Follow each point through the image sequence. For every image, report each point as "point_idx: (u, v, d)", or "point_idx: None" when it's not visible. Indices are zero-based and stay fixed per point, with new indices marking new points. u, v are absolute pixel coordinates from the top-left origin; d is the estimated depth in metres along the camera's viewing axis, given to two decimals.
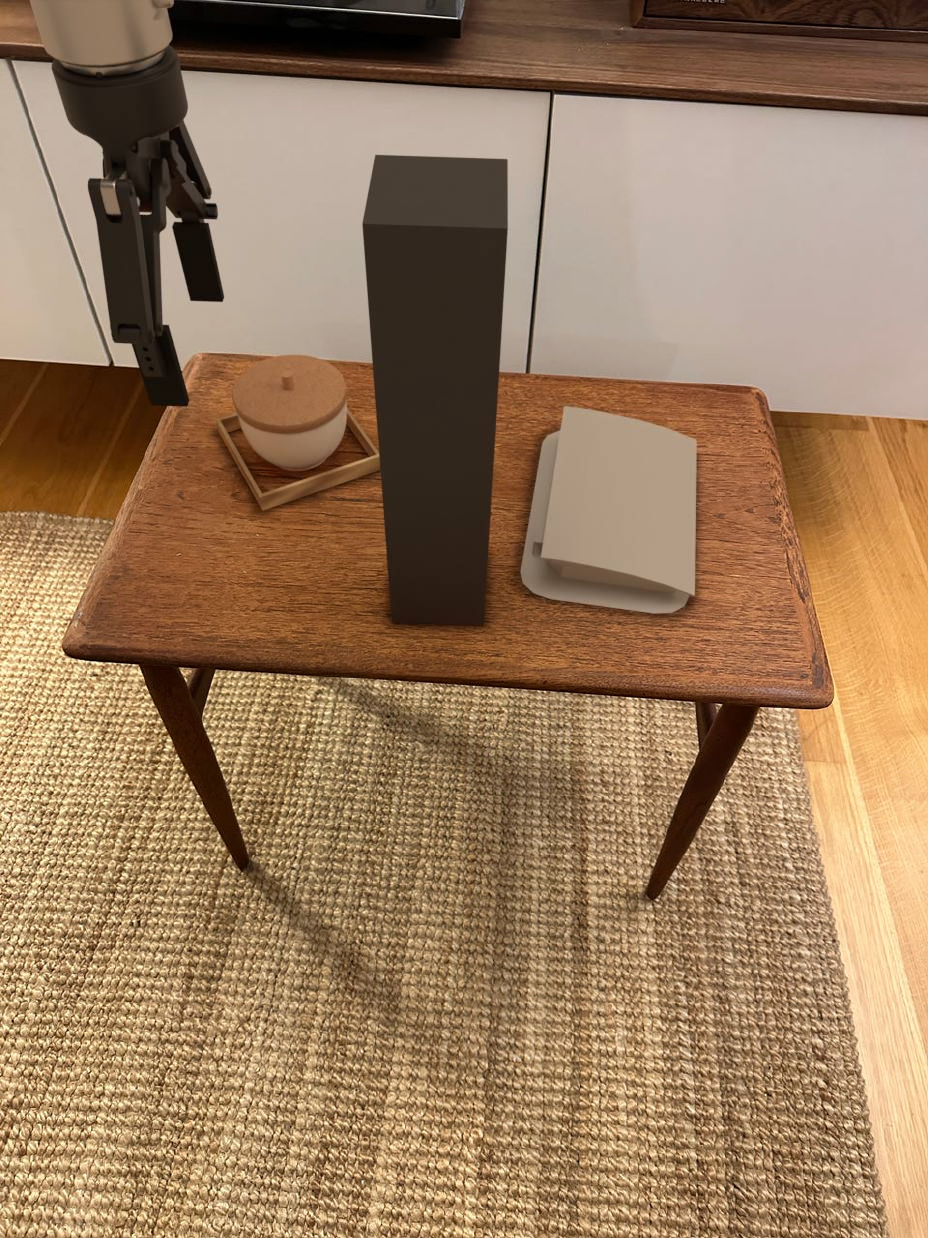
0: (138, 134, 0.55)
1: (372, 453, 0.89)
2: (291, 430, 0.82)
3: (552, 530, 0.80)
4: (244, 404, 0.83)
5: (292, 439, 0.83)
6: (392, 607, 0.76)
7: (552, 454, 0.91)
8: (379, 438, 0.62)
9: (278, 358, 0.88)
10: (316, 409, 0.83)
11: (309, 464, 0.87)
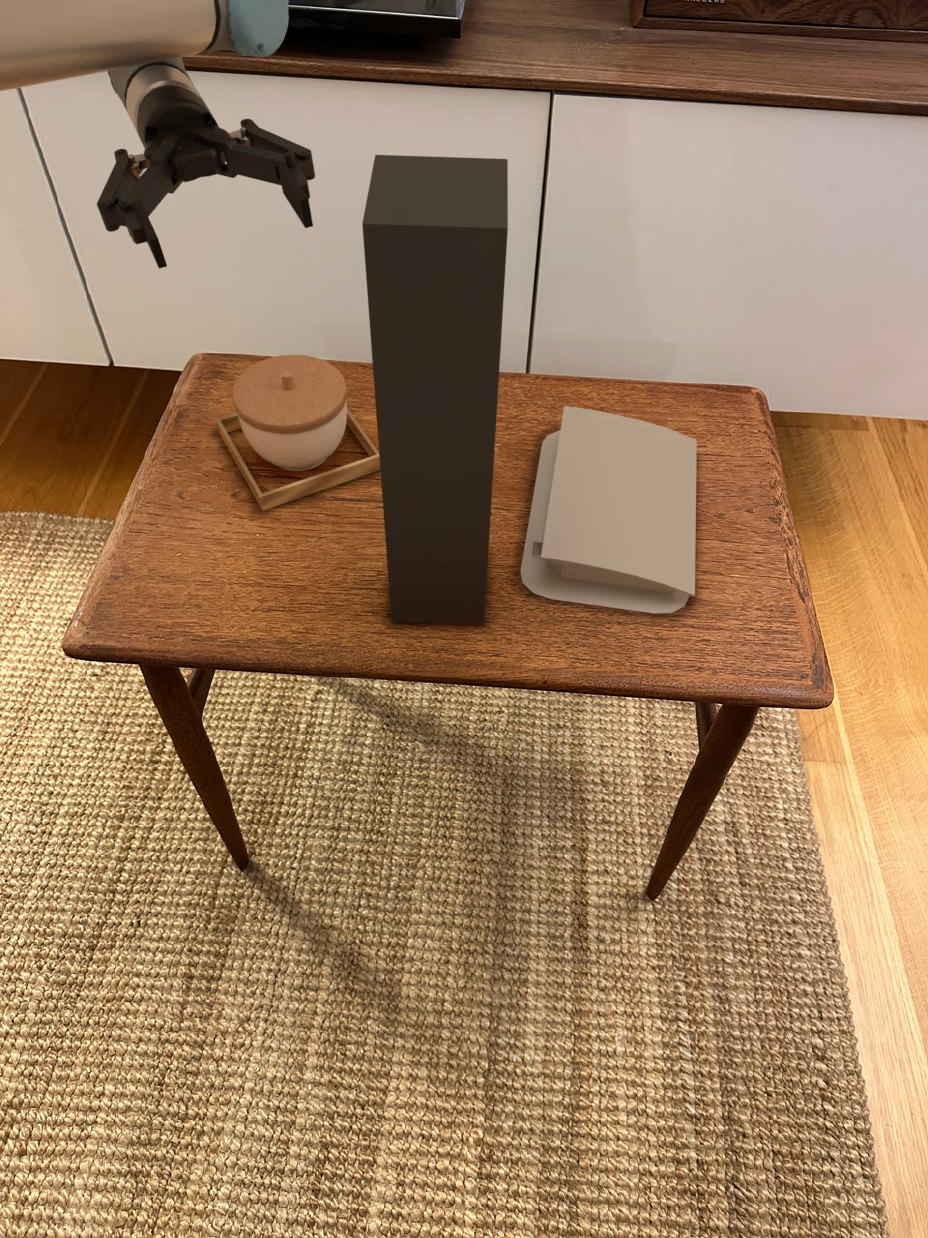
0: None
1: (372, 453, 0.89)
2: (291, 430, 0.82)
3: (552, 530, 0.80)
4: (244, 404, 0.83)
5: (292, 439, 0.83)
6: (392, 607, 0.76)
7: (552, 454, 0.91)
8: (379, 438, 0.62)
9: (278, 358, 0.88)
10: (317, 409, 0.83)
11: (309, 464, 0.87)
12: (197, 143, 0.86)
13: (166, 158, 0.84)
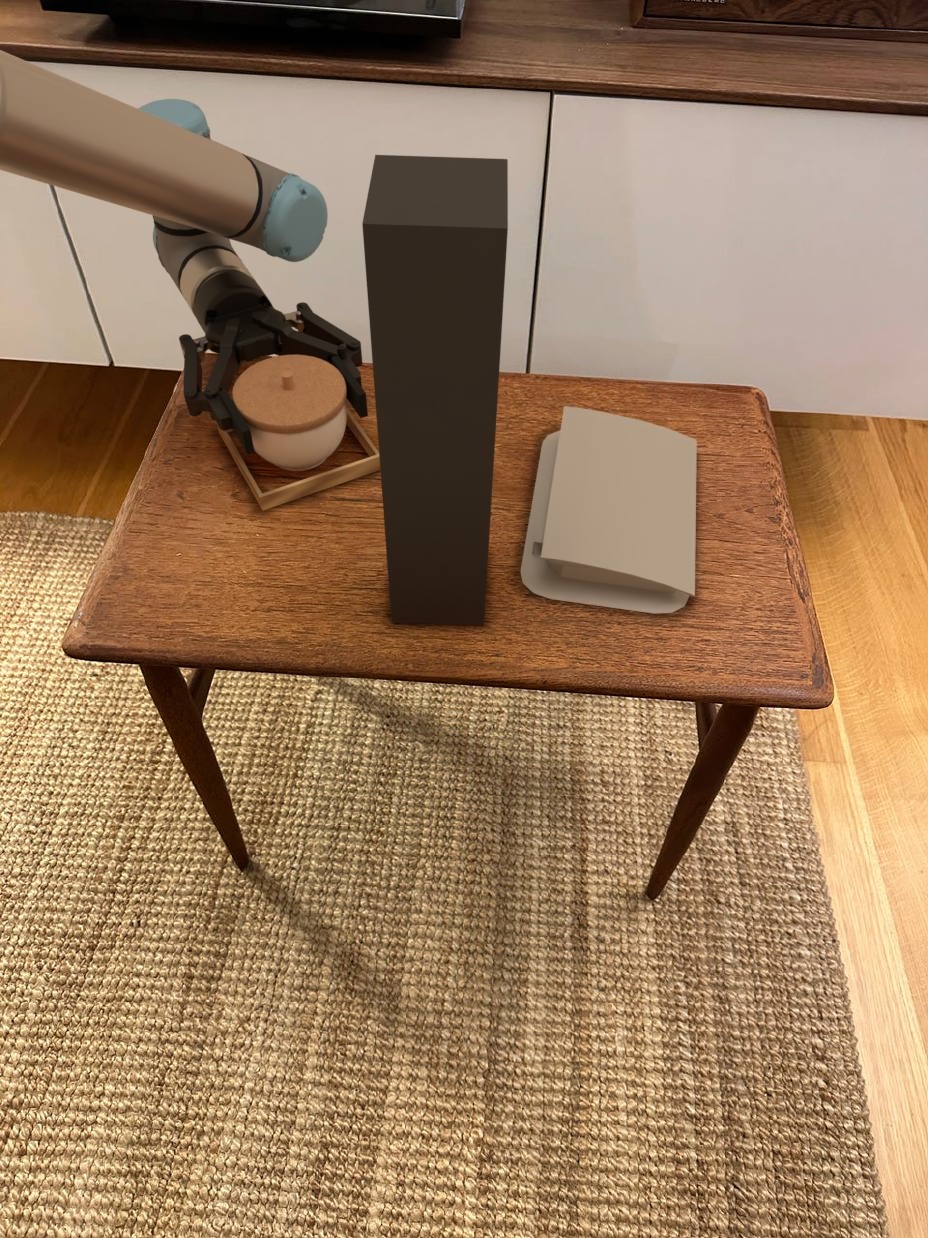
0: None
1: (372, 453, 0.89)
2: (291, 430, 0.82)
3: (552, 530, 0.80)
4: (244, 404, 0.83)
5: (292, 439, 0.83)
6: (392, 607, 0.76)
7: (552, 454, 0.91)
8: (379, 438, 0.62)
9: (278, 358, 0.88)
10: (316, 409, 0.83)
11: (309, 464, 0.87)
12: (255, 326, 0.91)
13: (234, 342, 0.89)
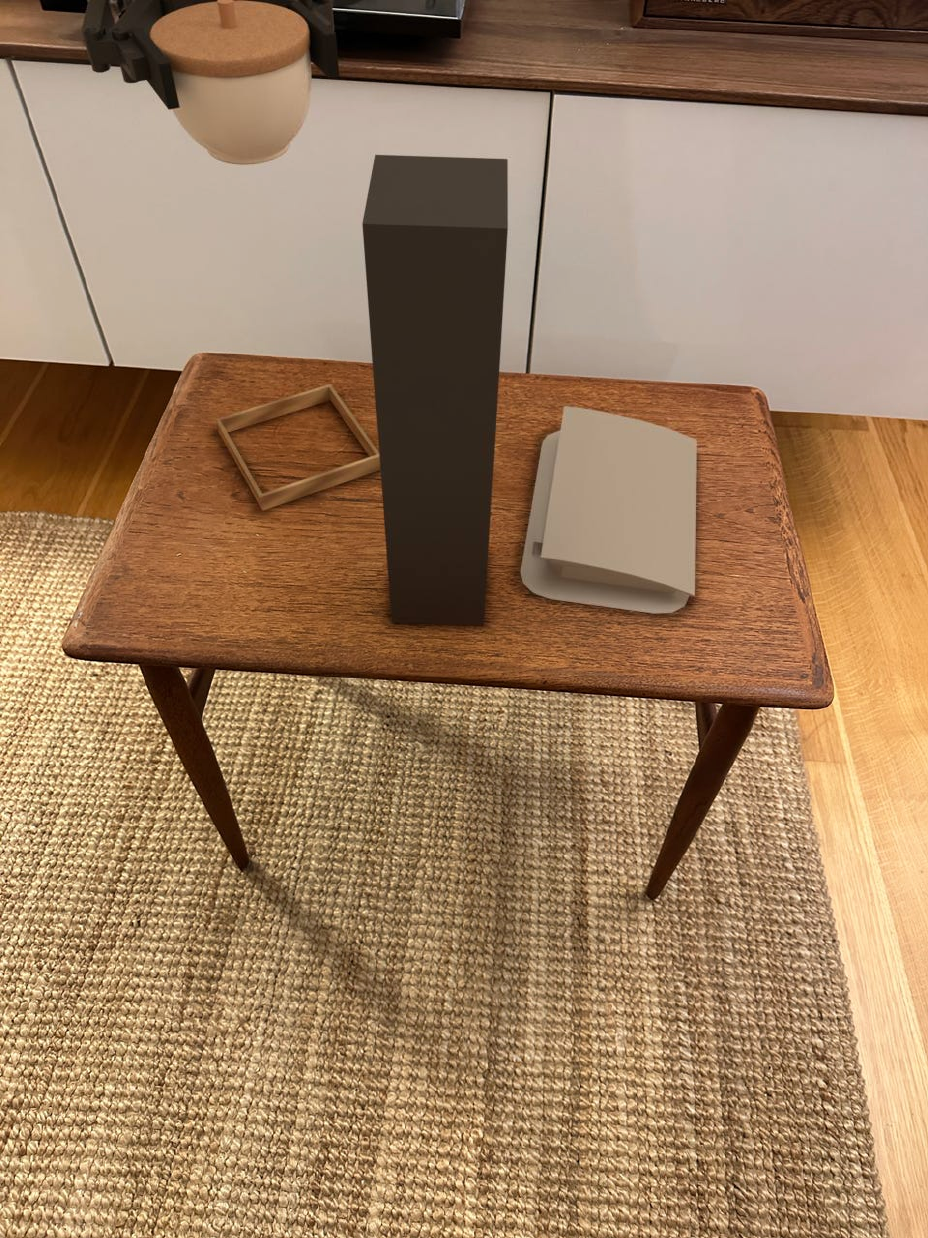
0: None
1: (372, 453, 0.89)
2: (230, 70, 0.59)
3: (552, 530, 0.80)
4: (165, 40, 0.60)
5: (232, 89, 0.59)
6: (392, 607, 0.76)
7: (552, 454, 0.91)
8: (379, 438, 0.62)
9: (218, 2, 0.64)
10: (266, 45, 0.59)
11: (259, 145, 0.63)
12: None
13: None
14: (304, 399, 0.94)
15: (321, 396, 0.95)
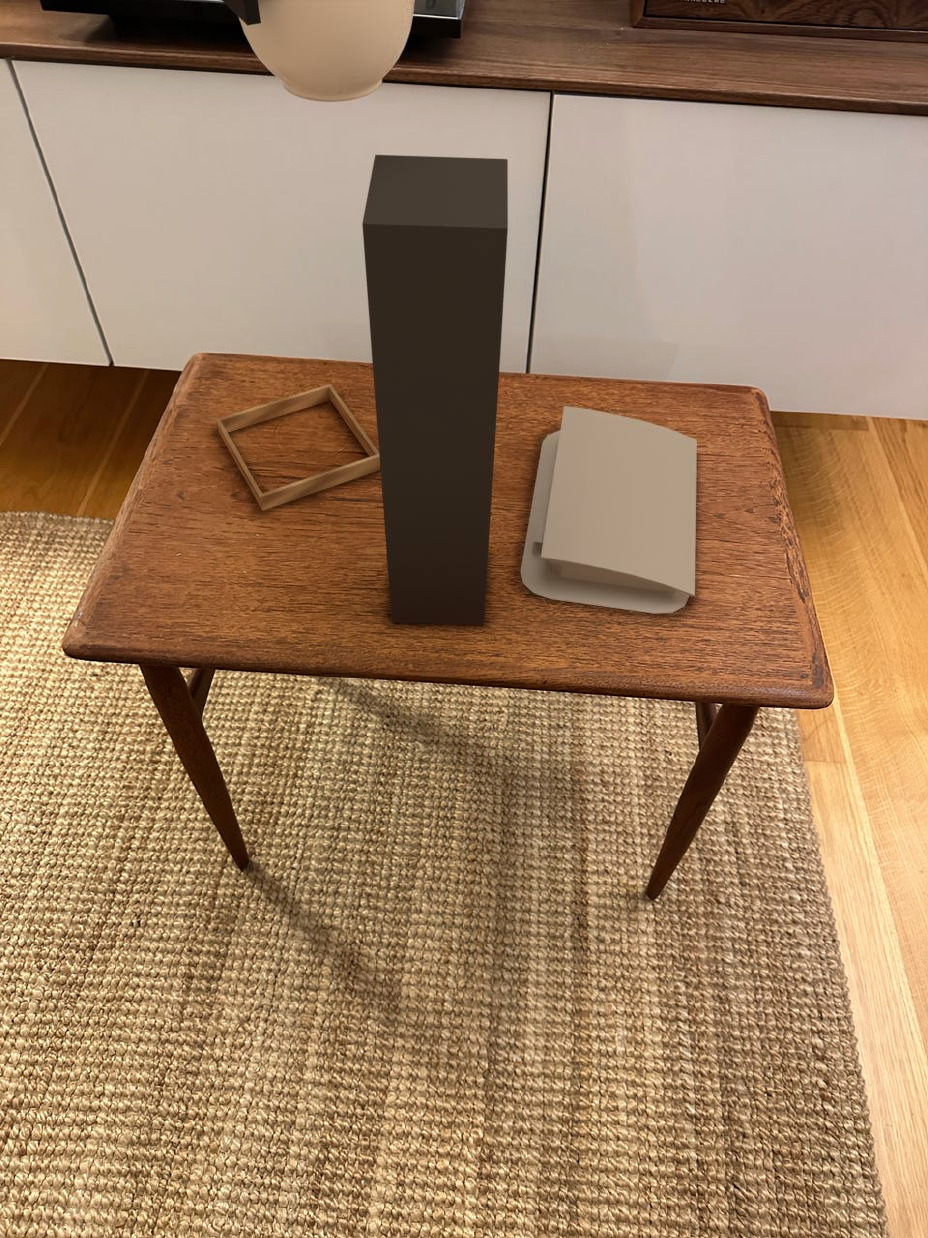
0: None
1: (372, 453, 0.89)
2: None
3: (552, 530, 0.80)
4: None
5: None
6: (392, 607, 0.76)
7: (552, 454, 0.91)
8: (379, 438, 0.62)
9: None
10: None
11: (352, 75, 0.51)
12: None
13: None
14: (304, 399, 0.94)
15: (321, 396, 0.95)
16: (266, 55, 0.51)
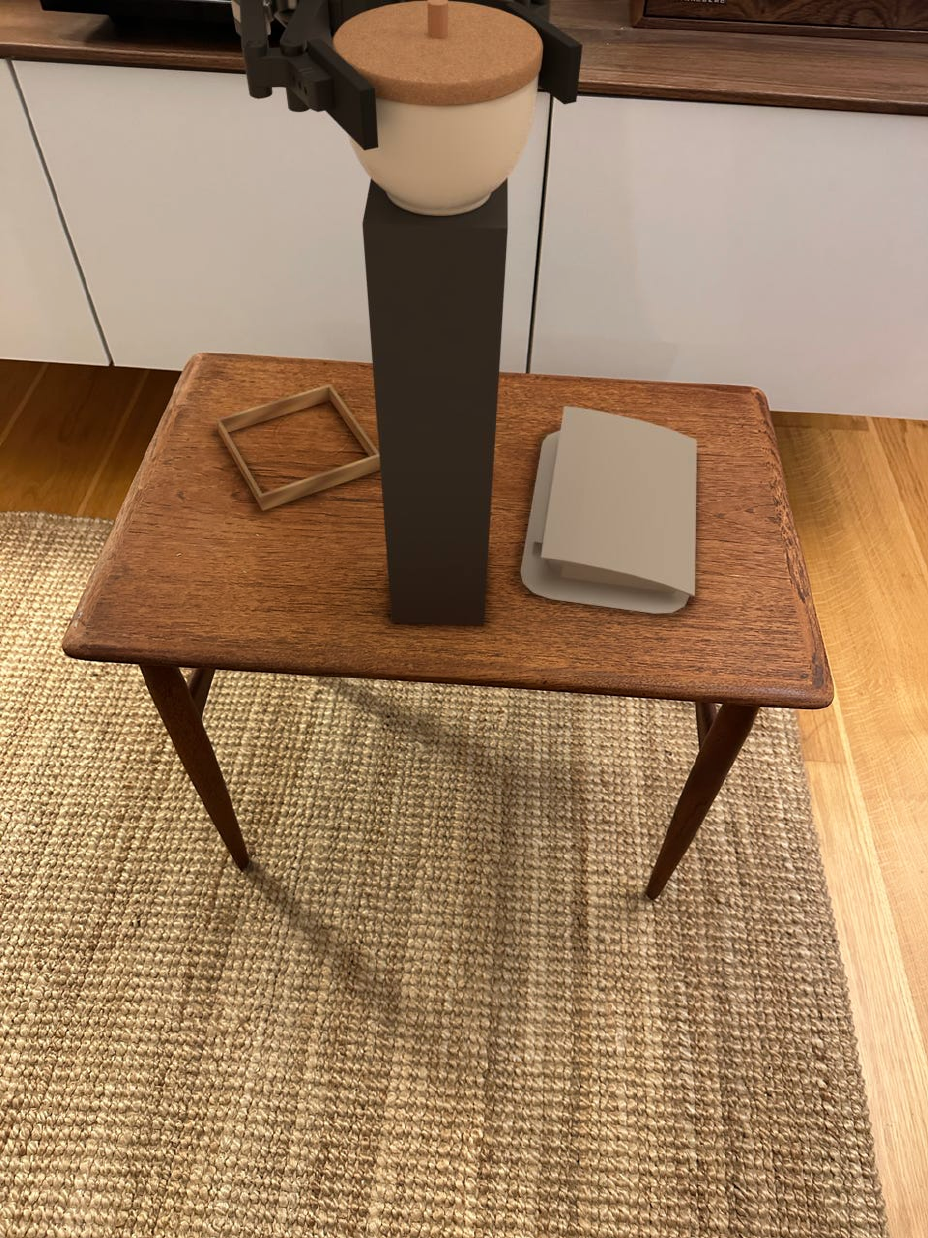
0: None
1: (372, 453, 0.89)
2: (451, 96, 0.43)
3: (552, 530, 0.80)
4: (359, 55, 0.44)
5: (450, 121, 0.44)
6: (392, 607, 0.76)
7: (552, 454, 0.91)
8: (379, 438, 0.62)
9: (411, 3, 0.48)
10: (497, 62, 0.44)
11: (468, 192, 0.48)
12: None
13: None
14: (304, 399, 0.94)
15: (321, 396, 0.95)
16: (376, 172, 0.48)
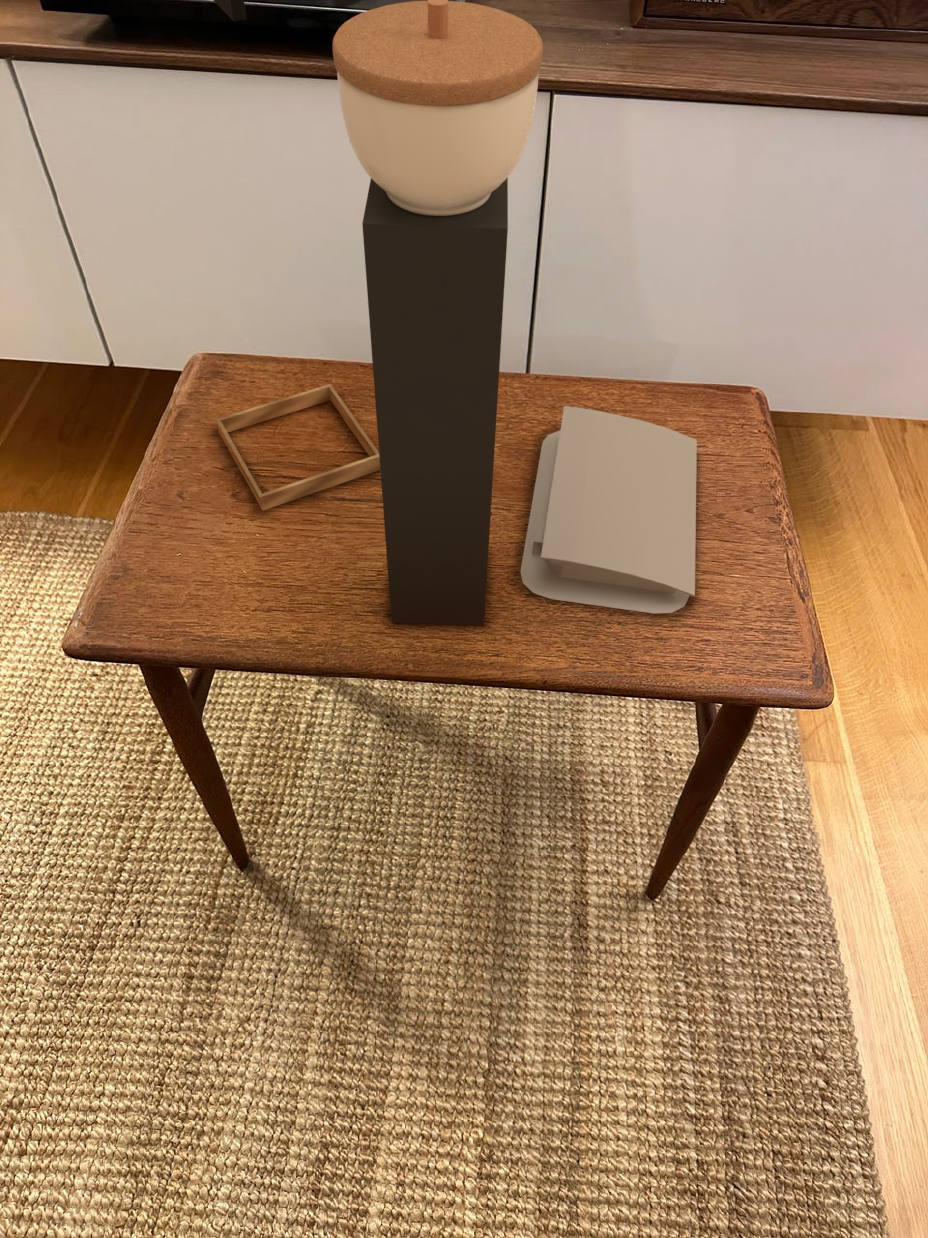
0: None
1: (372, 453, 0.89)
2: (451, 96, 0.43)
3: (552, 530, 0.80)
4: (359, 55, 0.44)
5: (451, 122, 0.44)
6: (392, 607, 0.76)
7: (552, 454, 0.91)
8: (379, 438, 0.62)
9: (411, 3, 0.48)
10: (497, 62, 0.44)
11: (468, 192, 0.48)
12: None
13: None
14: (304, 399, 0.94)
15: (321, 396, 0.95)
16: (377, 172, 0.48)
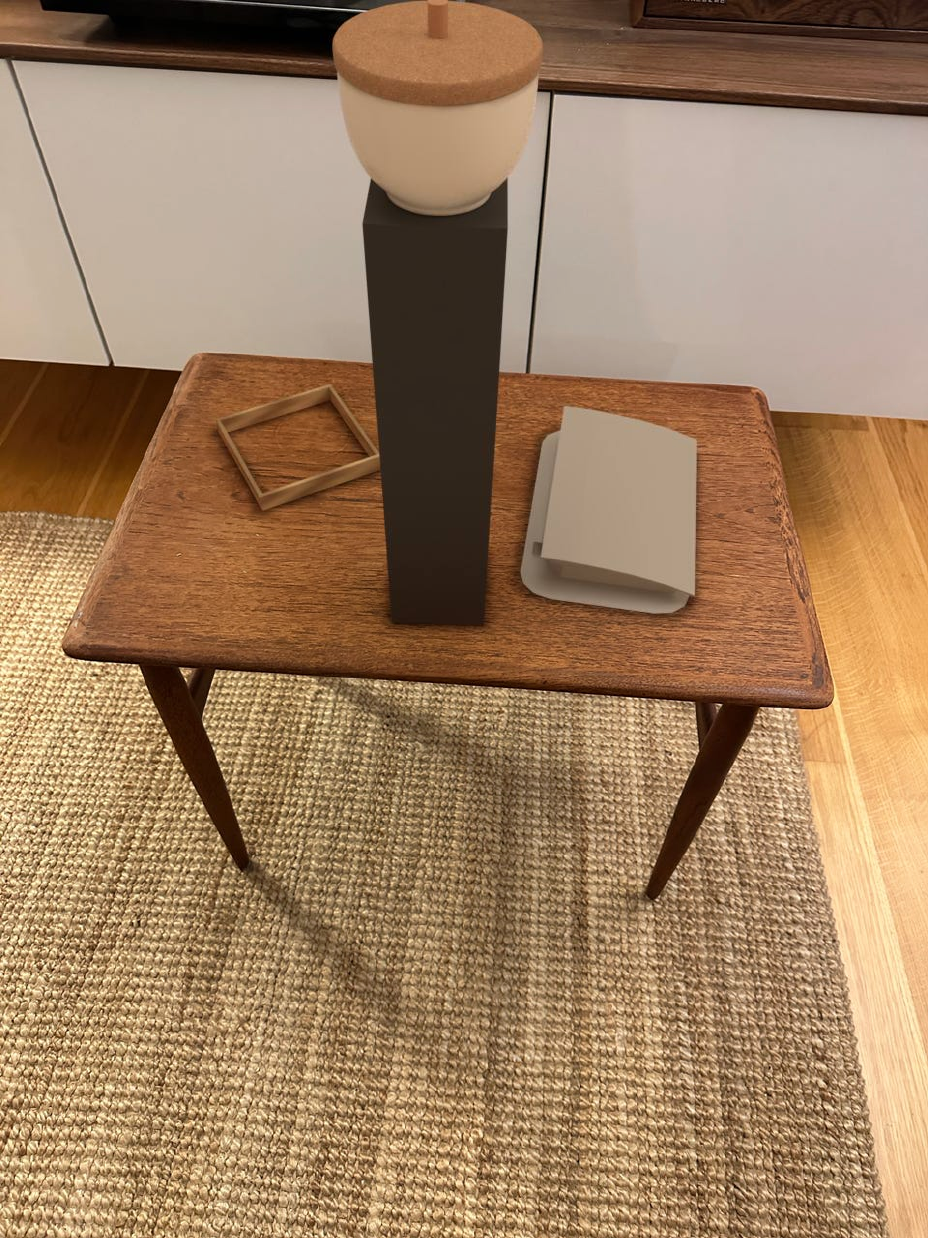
0: None
1: (372, 453, 0.89)
2: (451, 96, 0.43)
3: (552, 530, 0.80)
4: (359, 55, 0.44)
5: (451, 122, 0.44)
6: (392, 607, 0.76)
7: (552, 454, 0.91)
8: (379, 438, 0.62)
9: (411, 3, 0.48)
10: (497, 62, 0.44)
11: (468, 192, 0.48)
12: None
13: None
14: (304, 399, 0.94)
15: (321, 396, 0.95)
16: (377, 172, 0.48)
